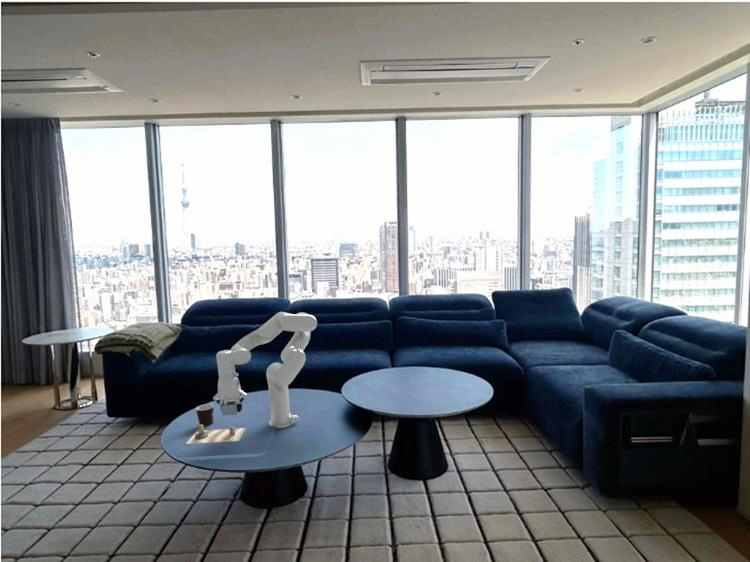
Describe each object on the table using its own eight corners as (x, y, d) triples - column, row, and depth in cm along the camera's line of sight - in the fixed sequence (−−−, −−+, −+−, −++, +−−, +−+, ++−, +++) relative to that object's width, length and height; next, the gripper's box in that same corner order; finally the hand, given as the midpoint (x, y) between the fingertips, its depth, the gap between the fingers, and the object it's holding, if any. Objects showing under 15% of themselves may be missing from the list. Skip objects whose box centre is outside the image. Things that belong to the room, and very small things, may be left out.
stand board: (247, 430, 231) (245, 417, 230) (238, 443, 217) (237, 429, 216) (197, 433, 231) (195, 420, 230) (185, 446, 217) (184, 432, 216)
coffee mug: (209, 429, 234) (207, 410, 233) (194, 428, 236) (192, 410, 235) (221, 420, 245) (219, 402, 244) (206, 419, 247) (205, 401, 246)
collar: (241, 408, 226) (240, 399, 225) (237, 414, 219) (236, 405, 219) (227, 409, 226) (226, 400, 226) (222, 415, 219) (221, 406, 219)
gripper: (247, 372, 224) (251, 407, 226) (212, 375, 224) (216, 410, 226) (243, 377, 217) (247, 413, 219) (206, 380, 217) (211, 416, 219)
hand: (232, 411), depth 223 cm, fingers closed on collar, 7 cm apart
